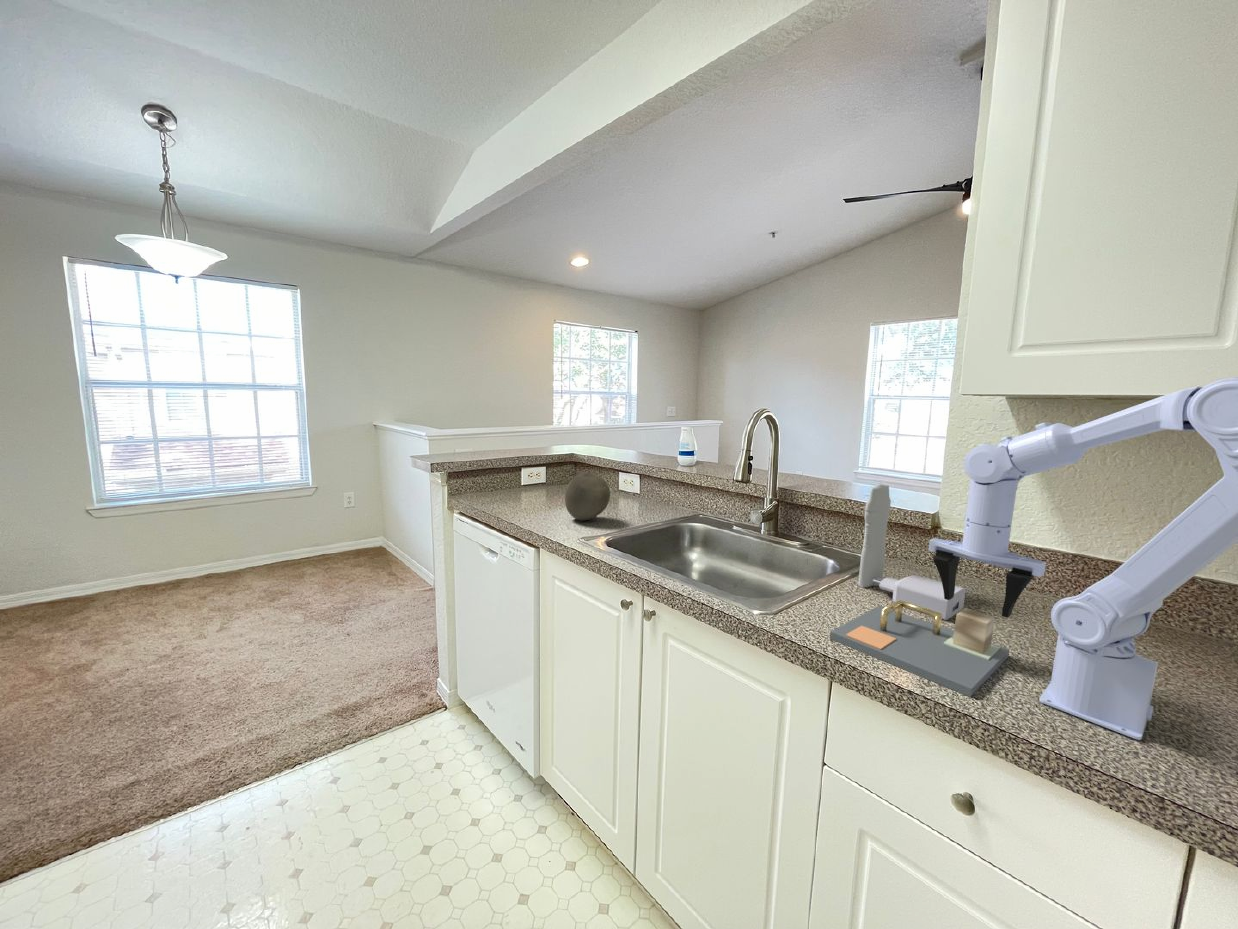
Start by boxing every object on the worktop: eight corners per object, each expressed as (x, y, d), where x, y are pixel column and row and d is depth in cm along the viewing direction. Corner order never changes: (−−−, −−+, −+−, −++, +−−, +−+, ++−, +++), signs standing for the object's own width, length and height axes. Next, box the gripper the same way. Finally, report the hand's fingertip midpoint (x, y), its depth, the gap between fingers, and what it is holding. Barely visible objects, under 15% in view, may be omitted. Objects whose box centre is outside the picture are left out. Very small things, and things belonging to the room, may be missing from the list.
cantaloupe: (567, 526, 148) (568, 477, 146) (561, 515, 161) (562, 470, 159) (613, 525, 151) (614, 477, 149) (603, 514, 165) (604, 470, 162)
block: (990, 646, 78) (994, 616, 77) (982, 654, 75) (986, 623, 75) (961, 636, 81) (965, 608, 80) (952, 643, 78) (956, 614, 78)
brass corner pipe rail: (940, 634, 82) (943, 612, 81) (924, 646, 78) (926, 624, 77) (896, 619, 87) (898, 598, 87) (878, 629, 83) (880, 608, 83)
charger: (883, 585, 107) (963, 610, 96) (863, 595, 102) (945, 622, 90) (886, 564, 107) (966, 586, 95) (865, 573, 101) (948, 597, 89)
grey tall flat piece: (869, 591, 103) (879, 488, 100) (850, 585, 106) (859, 485, 103) (890, 580, 110) (900, 483, 107) (871, 574, 113) (880, 480, 110)
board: (1008, 656, 78) (1009, 648, 78) (970, 697, 67) (971, 687, 66) (878, 611, 93) (879, 604, 93) (829, 638, 82) (830, 630, 82)
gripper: (1055, 529, 72) (1042, 616, 74) (944, 510, 83) (934, 586, 85) (1043, 536, 68) (1029, 629, 70) (927, 515, 79) (918, 595, 81)
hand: (976, 606), depth 77 cm, fingers open, 7 cm apart
